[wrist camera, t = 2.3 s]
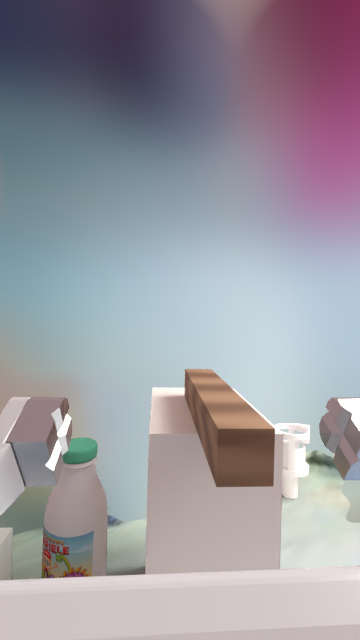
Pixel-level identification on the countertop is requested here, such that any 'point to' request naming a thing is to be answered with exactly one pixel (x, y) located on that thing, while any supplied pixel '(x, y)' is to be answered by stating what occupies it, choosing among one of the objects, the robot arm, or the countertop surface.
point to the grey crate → (6, 553)
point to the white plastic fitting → (293, 457)
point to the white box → (204, 501)
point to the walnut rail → (230, 432)
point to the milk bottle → (76, 517)
